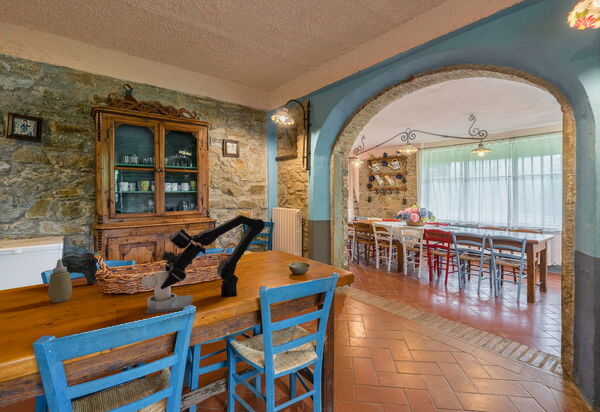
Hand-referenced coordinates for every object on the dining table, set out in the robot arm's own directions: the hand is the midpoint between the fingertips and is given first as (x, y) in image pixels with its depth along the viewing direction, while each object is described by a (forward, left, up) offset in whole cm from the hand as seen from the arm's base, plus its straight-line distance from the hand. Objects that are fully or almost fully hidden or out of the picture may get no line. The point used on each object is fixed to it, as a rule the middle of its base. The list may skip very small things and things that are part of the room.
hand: (160, 285), depth 115 cm
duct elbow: (+1, +1, -8) cm, 8 cm away
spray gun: (+46, -44, -9) cm, 65 cm away
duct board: (-4, -1, -9) cm, 10 cm away
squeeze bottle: (+43, -20, -9) cm, 49 cm away
